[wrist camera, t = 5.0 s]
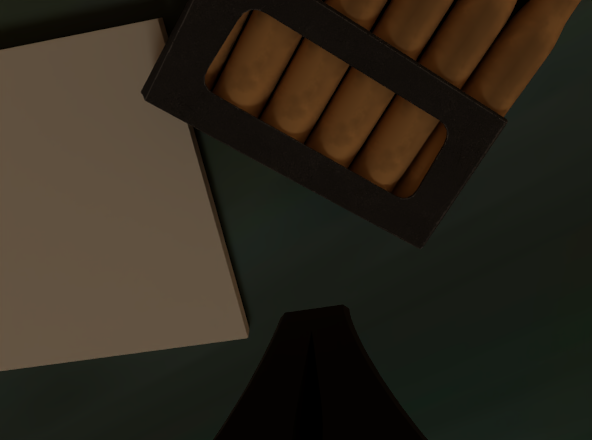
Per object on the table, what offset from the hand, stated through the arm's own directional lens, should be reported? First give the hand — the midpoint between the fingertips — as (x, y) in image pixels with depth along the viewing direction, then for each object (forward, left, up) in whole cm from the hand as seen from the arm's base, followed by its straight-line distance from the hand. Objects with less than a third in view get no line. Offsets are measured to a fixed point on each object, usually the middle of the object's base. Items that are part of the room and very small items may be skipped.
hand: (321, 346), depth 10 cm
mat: (+10, 0, -9) cm, 14 cm away
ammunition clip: (+1, -1, -8) cm, 8 cm away
